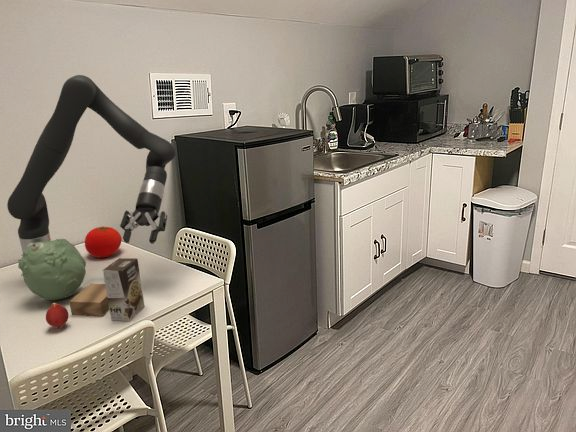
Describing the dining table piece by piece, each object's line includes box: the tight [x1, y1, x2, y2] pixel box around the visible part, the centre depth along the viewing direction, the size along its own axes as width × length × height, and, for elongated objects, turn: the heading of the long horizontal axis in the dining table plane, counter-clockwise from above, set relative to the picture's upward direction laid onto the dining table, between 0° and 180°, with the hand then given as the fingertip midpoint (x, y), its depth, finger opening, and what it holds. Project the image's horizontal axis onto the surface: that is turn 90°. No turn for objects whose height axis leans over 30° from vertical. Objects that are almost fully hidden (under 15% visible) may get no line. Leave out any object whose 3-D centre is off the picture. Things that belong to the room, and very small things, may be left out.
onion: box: [45, 302, 69, 329], centre depth 132 cm, size 6×6×8 cm
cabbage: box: [17, 238, 87, 301], centre depth 149 cm, size 16×19×20 cm
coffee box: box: [102, 257, 146, 322], centre depth 137 cm, size 9×6×16 cm
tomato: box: [84, 225, 123, 259], centre depth 184 cm, size 13×14×12 cm
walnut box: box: [68, 283, 110, 318], centre depth 144 cm, size 10×12×5 cm
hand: (138, 242), depth 145 cm, fingers open, 8 cm apart
